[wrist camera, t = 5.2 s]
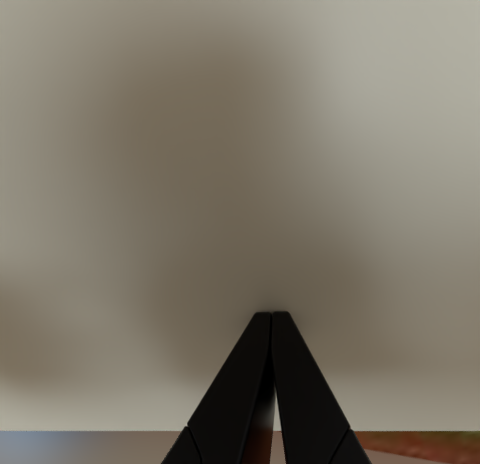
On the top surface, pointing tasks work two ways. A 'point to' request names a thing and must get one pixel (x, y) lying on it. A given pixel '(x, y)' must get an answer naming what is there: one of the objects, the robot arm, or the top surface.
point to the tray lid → (238, 205)
